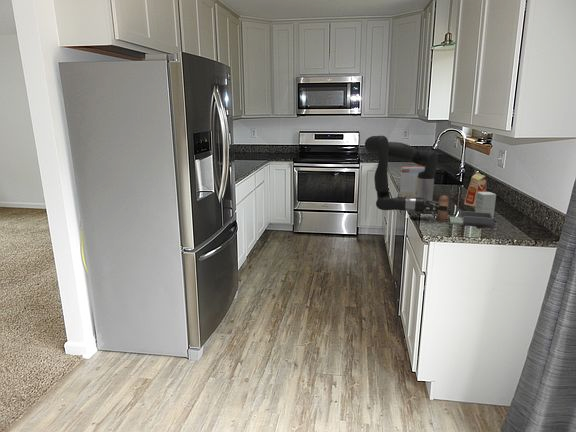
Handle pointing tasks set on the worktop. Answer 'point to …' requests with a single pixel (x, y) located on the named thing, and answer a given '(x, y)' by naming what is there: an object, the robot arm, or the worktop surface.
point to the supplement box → (485, 202)
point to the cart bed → (474, 219)
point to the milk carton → (475, 188)
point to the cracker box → (409, 181)
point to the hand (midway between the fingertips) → (447, 206)
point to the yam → (443, 214)
